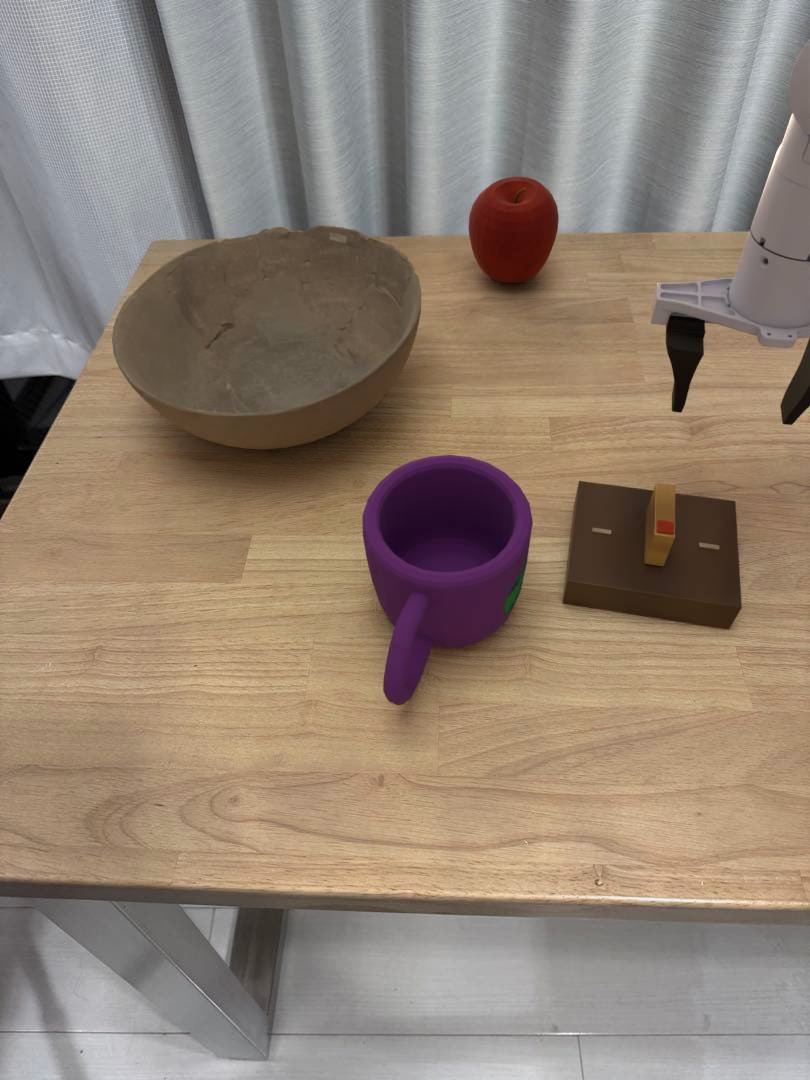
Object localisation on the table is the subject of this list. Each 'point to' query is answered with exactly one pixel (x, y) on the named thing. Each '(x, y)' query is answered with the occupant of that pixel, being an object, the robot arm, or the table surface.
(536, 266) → the apple
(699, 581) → the lock plate
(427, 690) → the table surface
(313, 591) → the table surface
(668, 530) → the block with red patch
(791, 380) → the robot arm
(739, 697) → the table surface
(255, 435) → the bowl
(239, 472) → the table surface
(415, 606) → the mug
